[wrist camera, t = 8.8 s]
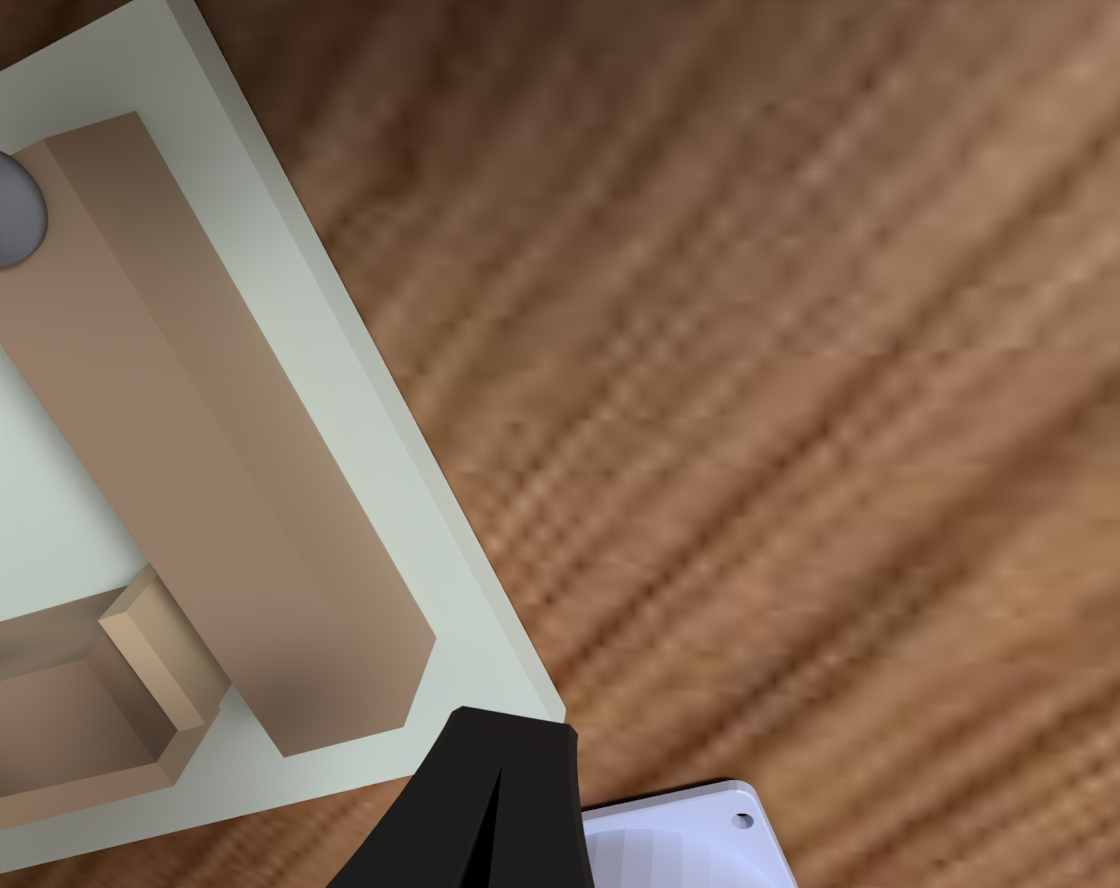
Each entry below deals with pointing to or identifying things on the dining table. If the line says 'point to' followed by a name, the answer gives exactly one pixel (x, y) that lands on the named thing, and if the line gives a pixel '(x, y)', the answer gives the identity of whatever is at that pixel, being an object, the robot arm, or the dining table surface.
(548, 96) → the dining table surface
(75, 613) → the folding leg
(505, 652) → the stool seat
